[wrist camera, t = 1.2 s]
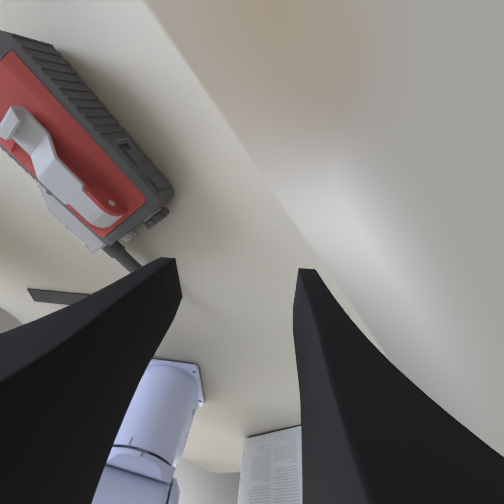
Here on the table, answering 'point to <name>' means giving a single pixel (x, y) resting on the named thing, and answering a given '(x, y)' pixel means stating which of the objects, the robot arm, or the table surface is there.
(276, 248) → the table surface
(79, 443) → the robot arm
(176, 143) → the table surface
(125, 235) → the walkie-talkie
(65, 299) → the tape marks
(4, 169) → the table surface
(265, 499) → the skincare box
